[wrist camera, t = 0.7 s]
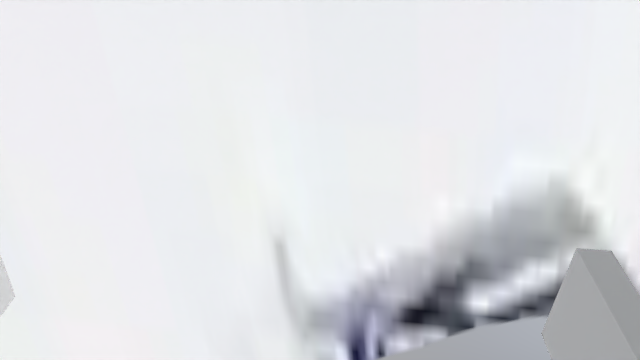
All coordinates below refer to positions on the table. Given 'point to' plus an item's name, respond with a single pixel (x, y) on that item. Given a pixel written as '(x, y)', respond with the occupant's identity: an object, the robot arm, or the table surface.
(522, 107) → the table surface
